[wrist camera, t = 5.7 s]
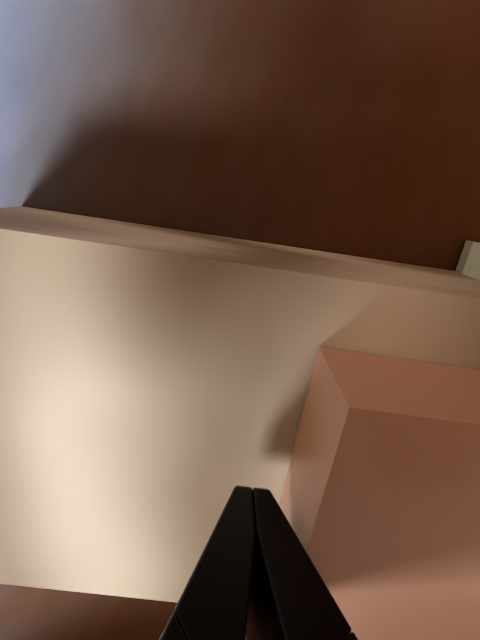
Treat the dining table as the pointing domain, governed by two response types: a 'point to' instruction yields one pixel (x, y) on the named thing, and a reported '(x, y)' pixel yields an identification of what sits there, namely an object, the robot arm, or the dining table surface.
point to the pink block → (391, 493)
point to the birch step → (174, 383)
